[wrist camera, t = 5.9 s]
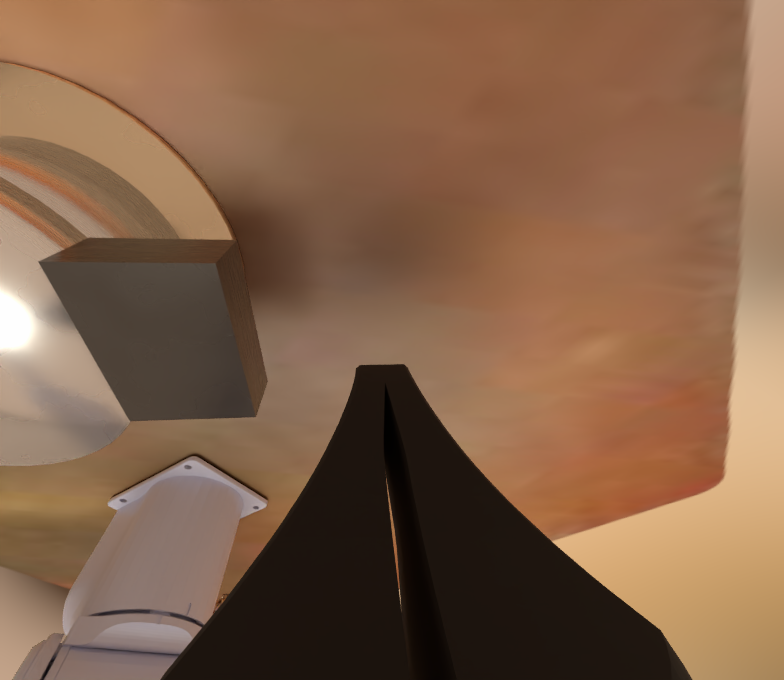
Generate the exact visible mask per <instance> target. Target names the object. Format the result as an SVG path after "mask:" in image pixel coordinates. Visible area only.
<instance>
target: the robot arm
mask: <svg viewBox="0 0 784 680" xmlns="http://www.w3.org/2000/svg"><path fill="white" fill-rule="evenodd" d="M385 472H386V473H385ZM386 478H387V483H386ZM387 484H388V490H389V497H390V503H391V509H392V516H393V522H394V528H395V536H396V544H397V556H398V569H399V583H400V595H401V604H400V597H399V588H398V580H397V572H396V563H395V555H394V547H393V538H392V530H391V520H390V511H389V502H388V493H387ZM267 503H268V502H267V500H266V499H264V498H263V497H261V496H260V495H258V494H256V493H255V492H253V491H252V490H250V489H248V488H247V487H245V486H244V485H242V484H240V483H239V482H237V481H236V480H234V479H232V478H231V477H229V476H228V475H226V474H224V473H223V472H221V471H220V470H218V469H216V468H215V467H213V466H212V465H210V464H208V463H207V462H205V461H204V460H202V459H200V458H198V457H195V456H192V457H189V458H187V459H185V460H183V461H181V462H179V463H177V464H175V465H174V466H172V467H170V468H168V469H166V470H164V471H162V472H160V473H158V474H156V475H155V476H153V477H151V478H149V479H147V480H145V481H143V482H141V483H139V484H137V485H136V486H134V487H132V488H130V489H128V490H126V491H124V492H122V493H120V494H118V495H117V496H115V497H113V498H111V499H110V500H109V502H108V505H109V506H110V507H112V508H114V509H116V510H118V511H117V512H116V514H115V516H114V517H113V519H112V521H111V522H110V524H109V526H108V527H107V529H106V531H105V533H104V534H103V536H102V538H101V539H100V541H99V543H98V544H97V546H96V548H95V549H94V551H93V553H92V554H91V556H90V558H89V559H88V561H87V563H86V564H85V566H84V568H83V569H82V571H81V573H80V574H79V576H78V578H77V579H76V581H75V583H74V584H73V586H72V588H71V590H70V592H69V594H68V596H67V599H66V602H65V606H64V611H63V629H64V633H65V635H66V637H65V639H64V641H63V642H62V643H60V641H61V639H62V637H63V635H64V634H59V633H53V634H51V635H50V636H49V637H48V639H47V640H43V641H42V642H40V643H38V644H37V645H35V646H34V647H32V649H31V650H30V652H29V653H28V655H27V656H26V658H25V660H24V661H23V663H22V664H21V666H20V668H19V669H18V671H17V672H16V674H15V676H14V677H13V679H12V680H692V679H691V677H690V675H689V674H688V672H687V670H686V668H685V667H684V665H683V663H682V662H681V661H680V659H679V657H678V656H677V655H676V653H675V651H674V650H673V649H672V647H671V646H670V644H669V643H668V641H667V639H666V638H665V636H664V635H663V633H662V632H661V630H660V629H658V628H657V627H656V626H654V625H653V624H652V623H651V622H649V621H648V620H647V619H645V618H644V617H643V616H642V615H640V614H639V613H638V612H636V611H635V610H634V609H633V608H631V607H630V606H629V605H628V604H626V603H625V602H624V601H622V600H621V599H620V598H619V597H617V596H616V595H615V594H613V593H612V592H611V591H610V590H608V589H607V588H606V587H605V586H603V585H602V584H601V583H600V582H599V581H597V580H596V579H595V578H594V577H592V576H591V575H590V574H589V573H588V572H586V571H585V570H584V569H583V568H582V567H581V566H579V565H578V564H577V563H576V562H574V560H572V559H571V558H570V557H569V556H568V555H567V554H565V553H564V552H563V551H562V550H560V548H558V547H557V546H556V545H555V544H554V543H553V542H552V541H551V540H550V539H548V538H547V537H546V536H545V535H544V534H543V533H542V532H541V531H540V530H539V529H538V528H537V527H536V526H535V525H533V524H532V523H531V522H530V521H529V520H528V519H527V518H526V517H525V516H524V515H523V514H522V513H521V512H520V511H518V510H517V509H516V508H515V507H514V506H513V505H512V504H511V503H510V502H509V501H508V500H507V499H506V498H505V497H504V496H503V495H502V494H501V493H500V492H499V491H498V489H497V488H496V487H495V486H494V485H493V484H492V483H491V482H490V481H489V480H488V479H487V478H486V477H485V476H484V475H483V473H482V472H481V471H480V470H479V469H478V468H477V467H476V466H475V464H474V463H473V462H472V461H471V460H470V459H469V457H468V456H467V455H466V454H465V453H464V451H463V450H462V449H461V448H460V446H459V445H458V444H457V443H456V441H455V440H454V439H453V438H452V436H451V435H450V434H449V432H448V431H447V430H446V428H445V427H444V426H443V424H442V423H441V421H440V420H439V419H438V417H437V416H436V414H435V413H434V411H433V410H432V408H431V407H430V406H429V404H428V402H427V401H426V399H425V398H424V396H423V395H422V393H421V391H420V390H419V388H418V386H417V385H416V383H415V381H414V379H413V377H412V376H411V374H410V372H409V370H408V368H407V367H406V366H405V365H404V364H396V365H360V366H359V367H357V368H356V374H355V379H354V383H353V387H352V390H351V393H350V396H349V399H348V402H347V404H346V407H345V409H344V412H343V414H342V417H341V419H340V422H339V424H338V426H337V428H336V430H335V432H334V434H333V436H332V438H331V440H330V442H329V444H328V446H327V449H326V451H325V453H324V454H323V456H322V458H321V460H320V462H319V464H318V465H317V467H316V469H315V471H314V473H313V474H312V476H311V478H310V479H309V481H308V483H307V484H306V486H305V488H304V489H303V491H302V493H301V494H300V496H299V497H298V499H297V500H296V502H295V503H294V505H293V507H292V508H291V510H290V511H289V513H288V514H287V516H286V517H285V519H284V520H283V522H282V523H281V525H280V526H279V528H278V529H277V531H276V532H275V533H274V535H273V536H272V538H271V539H270V541H269V542H268V543H267V545H266V546H265V547H264V549H263V550H262V551H261V553H260V554H259V555H258V557H257V558H256V559H255V561H254V562H253V563H252V565H251V566H250V567H249V569H248V570H247V572H246V573H245V574H244V576H243V577H242V578H241V580H240V581H239V582H238V584H237V585H236V586H235V588H234V589H233V590H232V591H231V593H230V594H229V595H228V597H227V598H226V599H225V600H224V602H223V603H222V604H221V605H220V607H219V608H218V609H217V610H216V611H215V613H214V614H213V611H214V608H215V604H216V601H217V597H218V594H219V590H220V587H221V583H222V580H223V576H224V573H225V569H226V566H227V562H228V559H229V555H230V552H231V548H232V545H233V541H234V538H235V534H236V531H237V527H238V524H239V520H240V519H241V518H243V517H245V516H248V515H250V514H252V513H254V512H256V511H259V510H261V509H263V508H265V507H266V506H267ZM401 611H402V612H401Z"/></svg>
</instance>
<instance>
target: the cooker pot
mask: <svg viewBox="0 0 784 680" xmlns="http://www.w3.org/2000/svg"><path fill="white" fill-rule="evenodd" d="M0 177H2V178H4V179H5V180H7V181H9V182H10V183H12V184H14V185H15V186H17V187H19V188H20V189H22V190H24V191H25V192H27V193H28V194H30V195H32V196H33V197H35V198H37V199H38V200H40V201H41V202H42V203H44V204H45V205H46V206H48V207H49V208H51V209H52V210H53V211H55V212H56V213H58V214H59V215H60V216H62V217H63V218H65V219H66V220H67V221H68V222H69V223H71V224H72V225H73V226H74V227H75V228H77V229H78V230H79V231H80V232H81V233H82V234H84V235H85V236H86V237H87V238H150V239H211V240H236V237H235V235H234V233H233V230H232V228H231V226H230V223H229V221H228V219H227V218H226V216H225V214H224V212H223V211H222V209H221V207H220V205H219V203H218V202H217V200H216V199H215V197H214V196H213V195H212V193H211V192H210V190H209V189H208V188H207V186H206V185H205V183H204V182H203V181H202V179H201V178H200V177H199V176H198V175H197V174H196V172H195V171H194V170H193V169H192V168H191V167H190V166H189V164H188V163H187V162H186V161H185V160H184V159H183V158H182V157H181V156H180V155H179V154H178V153H177V152H176V151H175V150H174V149H173V148H172V147H171V146H170V145H169V144H168V143H166V142H165V141H164V140H163V139H162V138H161V137H160V136H159V135H157V134H156V133H155V132H153V131H152V130H151V129H150V128H148V127H147V126H146V125H145V124H143V123H142V122H141V121H139V120H138V119H137V118H135V117H134V116H132V115H131V114H129V113H128V112H126V111H125V110H123V109H121V108H120V107H118V106H117V105H115V104H114V103H112V102H111V101H109V100H107V99H105V98H103V97H101V96H99V95H97V94H96V93H94V92H92V91H90V90H88V89H86V88H84V87H82V86H80V85H78V84H75V83H73V82H70V81H68V80H65V79H63V78H60V77H57V76H55V75H52V74H50V73H47V72H43V71H40V70H36V69H32V68H28V67H24V66H21V65H17V64H11V63H3V62H0ZM238 247H239V245H238ZM239 252H240V249H239ZM240 256H241V252H240ZM241 261H242V265H243V270H244V264H243V259H242V256H241ZM244 275H245V271H244ZM245 279H246V278H245Z"/></svg>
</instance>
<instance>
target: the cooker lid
mask: <svg viewBox="0 0 784 680" xmlns="http://www.w3.org/2000/svg"><path fill="white" fill-rule="evenodd" d="M267 382H268V381H267V376H266V372H265V367H264V362H263V358H262V353H261V349H260V344H259V339H258V335H257V330H256V325H255V321H254V316H253V312H252V307H251V302H250V298H249V293H248V289H247V284H246V279H245V275H244V270H243V265H242V261H241V256H240V252H239V247H238V242H237V240H211V239H150V238H87V237H86V236H85V235H84V234H82V233H81V232H80V231H79V230H78V229H77V228H75V227H74V226H73V225H72V224H71V223H69V222H68V221H67V220H66V219H65V218H63V217H62V216H60V215H59V214H58V213H56V212H55V211H53V210H52V209H51V208H49V207H48V206H46V205H45V204H44V203H42V202H41V201H40V200H38V199H37V198H35V197H33V196H32V195H30V194H28V193H27V192H25V191H24V190H22V189H20V188H19V187H17V186H15V185H14V184H12V183H10V182H9V181H7V180H5V179H4V178H2V177H0V465H1V466H33V465H45V464H53V463H59V462H65V461H70V460H73V459H77V458H80V457H84V456H86V455H89V454H91V453H93V452H96V451H98V450H100V449H102V448H103V447H105V446H107V445H108V444H110V443H112V442H113V441H114V440H115V439H116V438H117V437H118V436H120V435H121V434H122V433H123V431H124V430H125V429H126V427H127V426H128V425H129V423H130V422H131V421H148V420H179V419H210V418H241V417H256V415H257V412H258V409H259V406H260V403H261V400H262V397H263V394H264V391H265V388H266V385H267Z"/></svg>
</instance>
